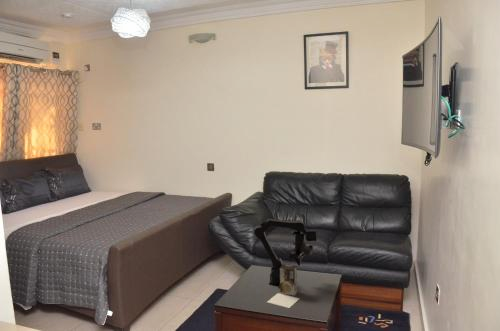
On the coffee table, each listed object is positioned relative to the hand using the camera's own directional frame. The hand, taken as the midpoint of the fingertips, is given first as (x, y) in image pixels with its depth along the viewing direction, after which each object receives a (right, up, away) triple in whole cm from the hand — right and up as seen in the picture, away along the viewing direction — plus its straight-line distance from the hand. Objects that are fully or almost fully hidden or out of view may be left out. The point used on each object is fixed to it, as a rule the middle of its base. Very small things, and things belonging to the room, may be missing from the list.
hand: (299, 265), depth 245 cm
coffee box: (-8, -14, -11) cm, 19 cm away
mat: (-12, -15, -22) cm, 28 cm away
